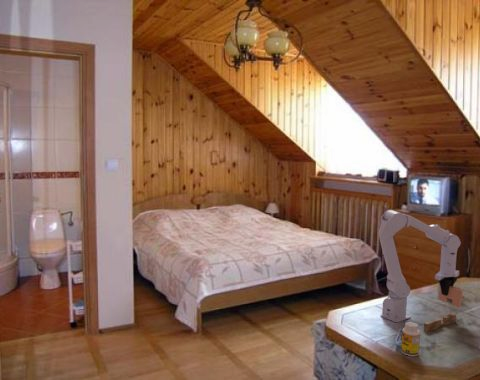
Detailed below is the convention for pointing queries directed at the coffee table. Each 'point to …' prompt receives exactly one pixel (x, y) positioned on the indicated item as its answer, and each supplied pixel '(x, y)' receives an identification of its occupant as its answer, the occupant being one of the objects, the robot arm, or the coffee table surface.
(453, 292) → the tan flat plank
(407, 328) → the supplement bottle
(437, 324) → the walnut board
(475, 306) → the coffee table surface
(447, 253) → the robot arm
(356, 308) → the coffee table surface
